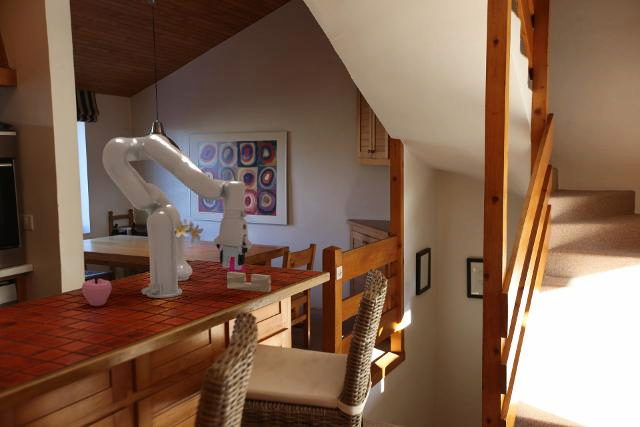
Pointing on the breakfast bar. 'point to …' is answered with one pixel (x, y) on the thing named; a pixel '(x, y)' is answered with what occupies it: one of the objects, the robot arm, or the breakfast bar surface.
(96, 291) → the apple
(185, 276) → the flower vase
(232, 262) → the pepper mill
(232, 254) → the notched plate
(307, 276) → the breakfast bar surface
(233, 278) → the beige notched bar
